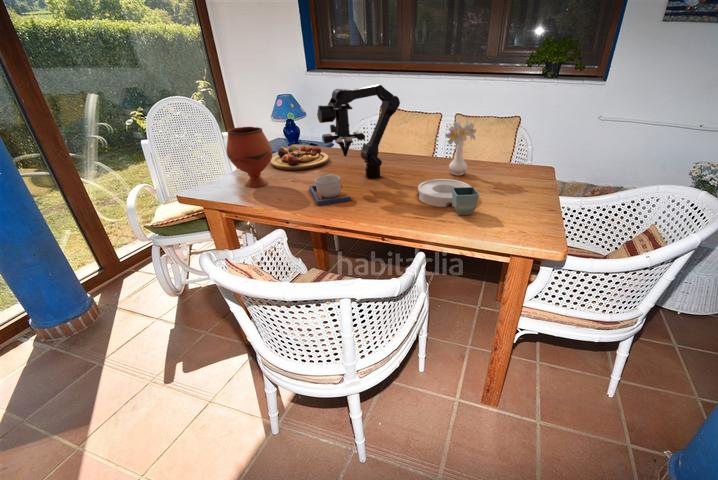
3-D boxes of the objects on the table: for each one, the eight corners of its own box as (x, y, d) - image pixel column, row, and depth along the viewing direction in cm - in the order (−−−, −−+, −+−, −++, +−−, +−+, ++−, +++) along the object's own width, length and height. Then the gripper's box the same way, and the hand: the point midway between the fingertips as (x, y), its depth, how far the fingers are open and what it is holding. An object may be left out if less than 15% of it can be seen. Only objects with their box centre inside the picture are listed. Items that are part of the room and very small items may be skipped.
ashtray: (406, 197, 154) (406, 188, 152) (438, 184, 169) (438, 175, 167) (451, 211, 141) (452, 202, 139) (481, 195, 156) (482, 186, 154)
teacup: (336, 201, 151) (334, 183, 146) (312, 199, 153) (310, 181, 149) (347, 190, 162) (346, 173, 158) (325, 188, 164) (323, 171, 160)
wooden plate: (312, 173, 183) (310, 157, 179) (258, 168, 191) (255, 152, 186) (338, 156, 209) (337, 142, 204) (290, 153, 216) (288, 138, 212)
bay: (339, 185, 167) (339, 182, 166) (350, 200, 152) (350, 196, 151) (309, 189, 163) (309, 185, 162) (317, 205, 147) (317, 201, 146)
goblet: (282, 186, 167) (272, 130, 153) (239, 194, 158) (224, 135, 145) (272, 175, 180) (262, 123, 167) (232, 181, 172) (218, 127, 159)
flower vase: (440, 177, 176) (443, 124, 163) (450, 167, 190) (454, 117, 177) (465, 181, 172) (471, 126, 158) (474, 170, 186) (480, 119, 173)
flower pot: (449, 208, 144) (451, 187, 139) (471, 207, 145) (473, 186, 140) (454, 217, 137) (456, 195, 132) (477, 216, 137) (479, 194, 132)
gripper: (357, 116, 167) (359, 150, 175) (317, 119, 161) (321, 154, 170) (364, 120, 158) (366, 155, 167) (322, 123, 152) (326, 160, 161)
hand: (345, 156), depth 166 cm, fingers closed
